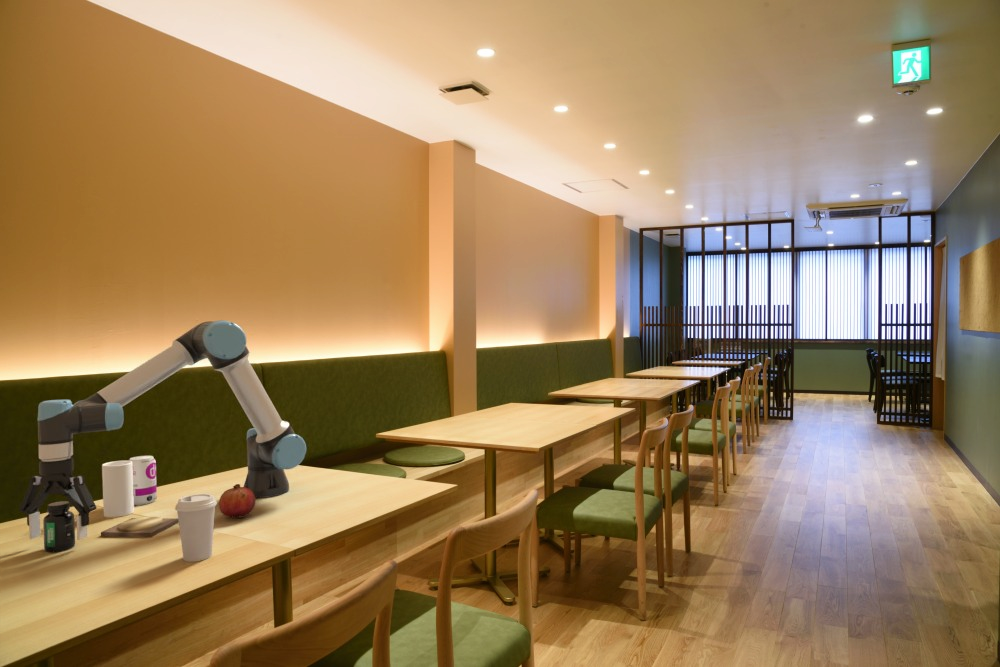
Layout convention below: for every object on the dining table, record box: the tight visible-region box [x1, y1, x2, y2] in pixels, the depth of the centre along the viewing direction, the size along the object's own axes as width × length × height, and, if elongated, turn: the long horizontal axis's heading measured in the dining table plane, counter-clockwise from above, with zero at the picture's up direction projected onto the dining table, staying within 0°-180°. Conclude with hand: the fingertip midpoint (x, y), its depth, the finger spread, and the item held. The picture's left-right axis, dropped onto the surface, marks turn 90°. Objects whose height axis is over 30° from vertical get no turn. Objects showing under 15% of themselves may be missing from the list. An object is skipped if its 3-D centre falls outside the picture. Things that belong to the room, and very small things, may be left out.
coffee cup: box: [174, 493, 218, 563], centre depth 162 cm, size 10×10×15 cm
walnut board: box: [100, 516, 179, 538], centre depth 186 cm, size 15×13×2 cm
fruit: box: [218, 483, 256, 519], centre depth 195 cm, size 11×10×10 cm
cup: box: [101, 459, 135, 518], centre depth 202 cm, size 8×8×16 cm
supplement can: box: [128, 455, 158, 506], centre depth 215 cm, size 8×8×15 cm
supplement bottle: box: [42, 500, 76, 553], centre depth 171 cm, size 7×7×12 cm
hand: (58, 538), depth 171 cm, fingers open, 13 cm apart
